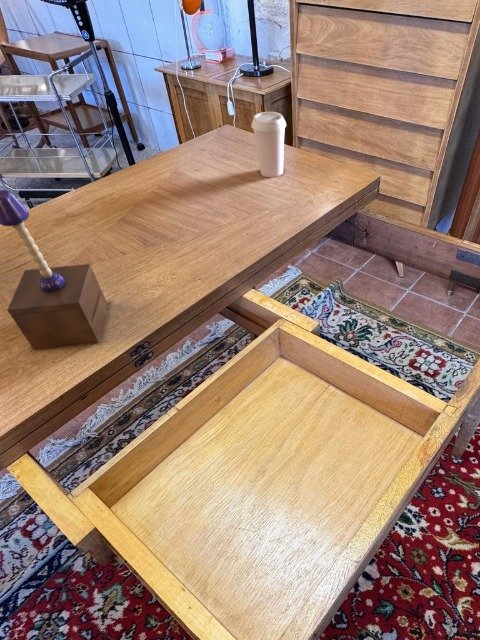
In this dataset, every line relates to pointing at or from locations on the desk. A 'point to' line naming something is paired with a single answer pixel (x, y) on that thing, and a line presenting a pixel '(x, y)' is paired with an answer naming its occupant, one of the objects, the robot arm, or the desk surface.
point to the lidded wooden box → (59, 308)
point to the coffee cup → (269, 142)
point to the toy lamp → (27, 238)
